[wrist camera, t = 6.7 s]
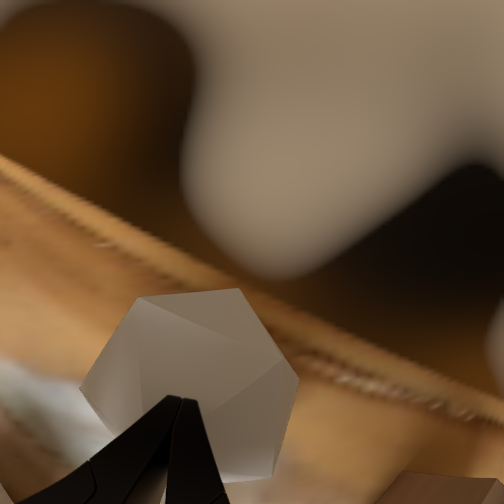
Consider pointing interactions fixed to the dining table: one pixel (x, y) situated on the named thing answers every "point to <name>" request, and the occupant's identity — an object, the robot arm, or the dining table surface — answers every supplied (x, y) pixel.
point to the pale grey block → (4, 496)
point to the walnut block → (442, 490)
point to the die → (200, 375)
